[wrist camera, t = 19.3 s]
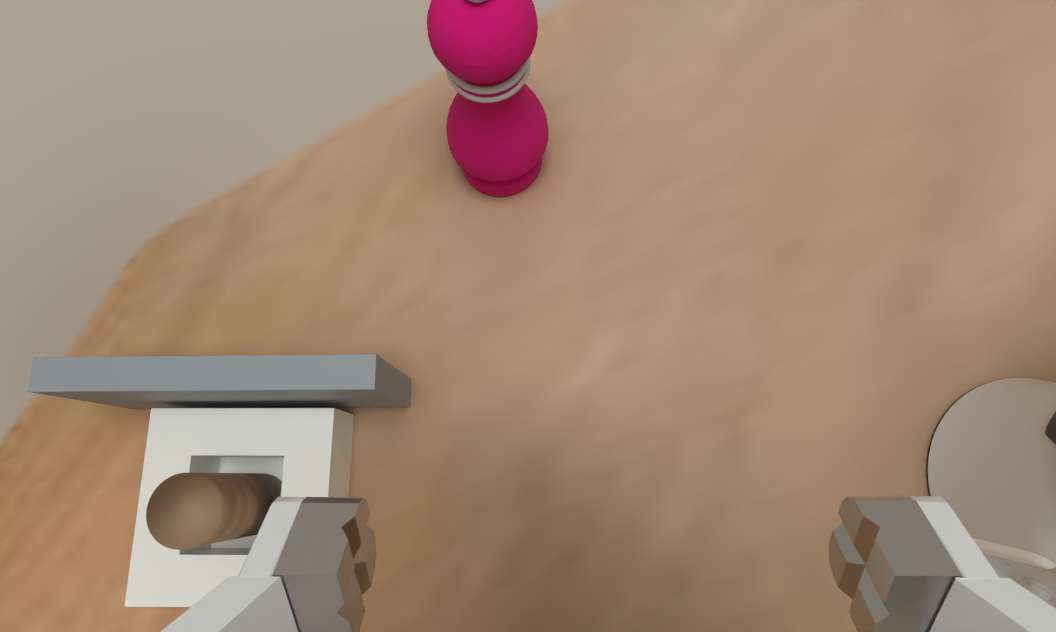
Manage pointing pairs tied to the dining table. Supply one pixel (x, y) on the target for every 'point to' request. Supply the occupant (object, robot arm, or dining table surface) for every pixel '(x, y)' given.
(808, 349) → the dining table surface
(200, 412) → the white socket block
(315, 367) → the slate backstop wall
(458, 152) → the pepper mill
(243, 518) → the walnut dowel
